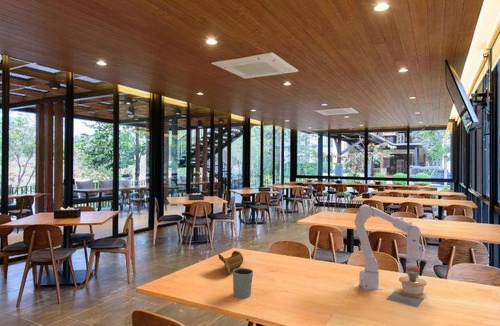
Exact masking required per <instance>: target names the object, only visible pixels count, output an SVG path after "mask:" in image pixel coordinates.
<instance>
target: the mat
mask: <svg viewBox="0 0 500 326" xmlns="http://www.w3.org/2000/svg"><path fill="white" fill-rule="evenodd" d="M386 300H387V301H390V302H395V303H398V304H402V305H405V306H410V307H414V308H418V307H419V306H420V305H421V303H422V302H423V301H424V300H425V297H420V296H418V295H417V296H416V295H414V294H409V293H408V294H407V293H403V292H400V291H395V290H394V291H393V292H392V293H391V294H390V295H388V296H387V298H386Z"/></svg>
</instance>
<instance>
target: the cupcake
mask: <svg viewBox="0 0 500 326" xmlns="http://www.w3.org/2000/svg"><path fill="white" fill-rule="evenodd" d="M409 272H414V273H416V278H419V277H420V267H419V266H417V265H415V260H412V264H408V265H406V273H407V277H409Z"/></svg>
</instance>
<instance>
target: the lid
mask: <svg viewBox="0 0 500 326" xmlns="http://www.w3.org/2000/svg"><path fill="white" fill-rule="evenodd" d="M398 281H399V282H400V283H401V282H402V283H404V284H407V285H411V286H424V287H426V286H427V281H426V280H425V279H422V278H419V277H418V278H416V273H414V272H409V277H408V276H401V277H399V278H398ZM402 283H401V284H402Z"/></svg>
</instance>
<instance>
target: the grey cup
mask: <svg viewBox="0 0 500 326" xmlns="http://www.w3.org/2000/svg"><path fill="white" fill-rule="evenodd" d="M253 275H254V270H253V269H251V268H248V267H247V268H245V267H238V268H233V269H232V284H233V285H232V287H233V293H232V294H233V297H234V298H237V299H248V298H250V297H251V295H252V285H253V284H252V283H253Z"/></svg>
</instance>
